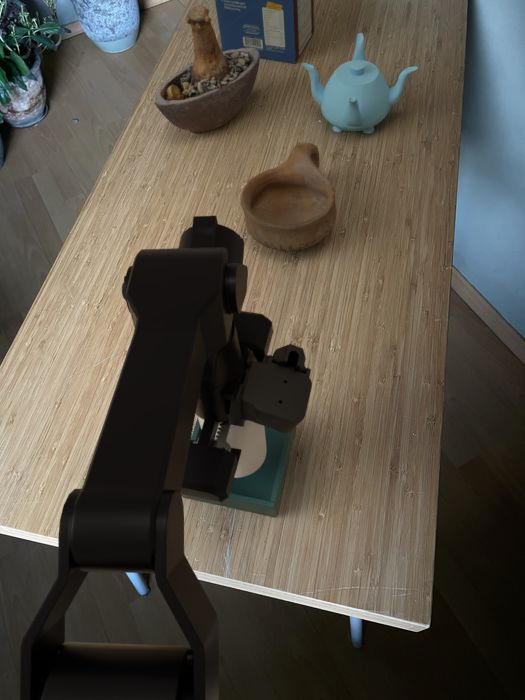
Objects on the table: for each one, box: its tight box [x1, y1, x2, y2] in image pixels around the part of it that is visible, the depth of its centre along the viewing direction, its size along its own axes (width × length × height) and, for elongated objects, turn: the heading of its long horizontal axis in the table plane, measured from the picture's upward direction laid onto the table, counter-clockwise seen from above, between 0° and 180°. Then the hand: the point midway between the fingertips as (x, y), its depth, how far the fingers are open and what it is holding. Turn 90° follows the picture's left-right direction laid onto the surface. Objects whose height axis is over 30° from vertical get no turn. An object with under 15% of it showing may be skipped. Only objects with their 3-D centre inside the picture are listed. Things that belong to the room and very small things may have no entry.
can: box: [197, 416, 267, 478], centre depth 62 cm, size 6×6×12 cm
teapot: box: [301, 32, 419, 134], centre depth 96 cm, size 13×13×10 cm
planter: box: [154, 3, 261, 134], centre depth 95 cm, size 15×17×20 cm
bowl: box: [239, 141, 338, 253], centre depth 86 cm, size 18×14×10 cm
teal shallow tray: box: [181, 417, 297, 519], centre depth 69 cm, size 11×11×4 cm
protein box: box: [214, 0, 315, 64], centre depth 107 cm, size 10×15×16 cm
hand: (231, 433), depth 63 cm, fingers closed on can, 7 cm apart
